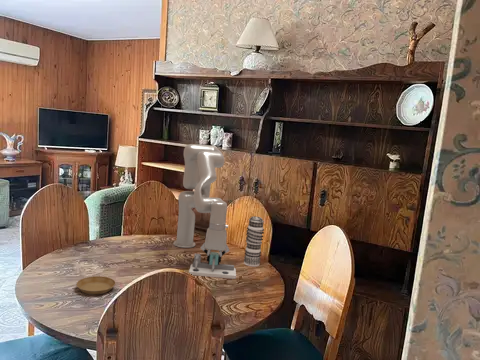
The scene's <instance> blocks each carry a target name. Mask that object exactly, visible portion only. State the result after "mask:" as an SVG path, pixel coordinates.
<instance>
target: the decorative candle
mask: <svg viewBox="0 0 480 360" xmlns="http://www.w3.org/2000/svg"><path fill="white" fill-rule="evenodd" d="M248 220H249V221H248V226H247V227H246V239H245V242H246V246H245V250H244V259H243V264H244V265H245V266H247V267H248V266H249V267H259V266H260V265H261V264H260V263H261V254H262V251H261V249H262V248H261V247H262V244H263V242H262V241H263V238H264V234H265V232H264V231H265V228H264V222H265V220H263V218H262V217H261V216H251V217H250V218H249V219H248Z"/></svg>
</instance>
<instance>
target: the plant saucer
mask: <svg viewBox="0 0 480 360" xmlns="http://www.w3.org/2000/svg"><path fill="white" fill-rule="evenodd" d="M115 286H116V280H115V279H113V278H111V277H107V276H100V275H99V276H98V275H95V276H87V277H83V278H81V279H80V280H78V281H77V282H76V288H78V289H79V290H80V292H82V293H83V294H87V295H96V296H97V295H102V294H105V293H108V292H110V290H113V288H114V287H115Z"/></svg>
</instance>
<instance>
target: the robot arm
mask: <svg viewBox="0 0 480 360" xmlns="http://www.w3.org/2000/svg"><path fill="white" fill-rule="evenodd" d="M183 158H184V159H183V161H184V169H183V180H182V184H183V185H182V187H184V188H185V189H187V190H185V191H181V192H180V193H179V194H178V198H177V199H178V218H177V219H178V220H177V232H176V240H174V241H173V245H174V247H177V248H180V249H181V248H183V249H184V248H186V249H192V248H194V247H195V246H196V242H195V241H194V235H195V226H196V225H195V222H196V214H195V212H194V210H193V209H195V210H196V211H197V212H198V213H201V214H208V213H209V214H210V216H209V217H210V218H209V226H208V228H207V230H206V234H205V242H203V244H202V245H201V246H200V250H202V251H203V252H204V253H205V255H206V262H207V263H208V264H209V263H210V253H211V252H212V250H213V251H217V252H218V253H219V257H218V265H219V264H222V257H223V256H224V255H225V254H226V253H229V252H230V248H229V246H228V244H227V239H228V238H227V237H228V235H227V229H228V228H229V225H228V224H226V220H227V211H228V203H227V201H224V200H223V199H222V198H220V197H210V195H211V186H212V184H213V183H215V182H216V180H217V176H218V175H217V172H216V169H217V168H218V169H220V168H223V167H224V165H225V157H224V154H223V152H222V151H221V150H220V149H219V148H217V146H214V145H207V144H199V143H198V144H197V143H194V144H193V143H190V144H187V145H186V146H184V149H183Z"/></svg>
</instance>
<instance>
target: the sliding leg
mask: <svg viewBox="0 0 480 360" xmlns="http://www.w3.org/2000/svg"><path fill="white" fill-rule="evenodd" d="M218 257H219V252H218V251H217V252H216V251H210V263H209V265H212V271H214V265H218Z"/></svg>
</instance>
